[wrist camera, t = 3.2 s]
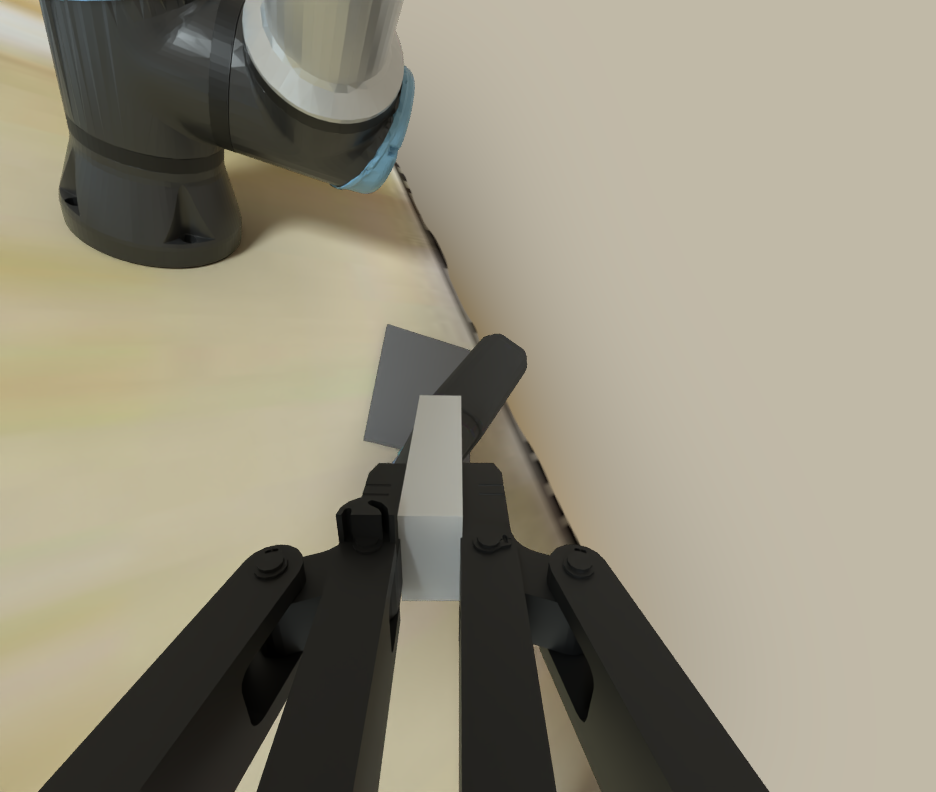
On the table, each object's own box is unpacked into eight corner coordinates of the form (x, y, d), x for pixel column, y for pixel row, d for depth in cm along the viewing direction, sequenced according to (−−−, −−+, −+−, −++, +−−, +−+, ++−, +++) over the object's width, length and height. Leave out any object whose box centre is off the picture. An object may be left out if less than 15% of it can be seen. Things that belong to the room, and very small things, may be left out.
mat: (386, 326, 50) (387, 324, 50) (468, 352, 53) (469, 350, 53) (363, 440, 39) (364, 437, 39) (468, 465, 42) (469, 462, 42)
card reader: (423, 433, 42) (490, 320, 31) (458, 458, 41) (538, 353, 31) (365, 505, 35) (424, 393, 25) (405, 535, 35) (483, 436, 24)
